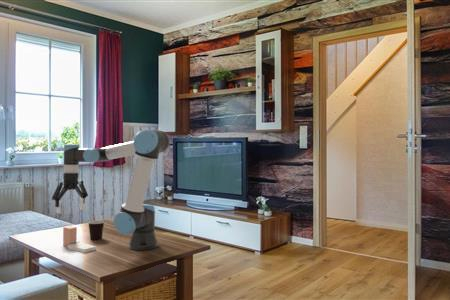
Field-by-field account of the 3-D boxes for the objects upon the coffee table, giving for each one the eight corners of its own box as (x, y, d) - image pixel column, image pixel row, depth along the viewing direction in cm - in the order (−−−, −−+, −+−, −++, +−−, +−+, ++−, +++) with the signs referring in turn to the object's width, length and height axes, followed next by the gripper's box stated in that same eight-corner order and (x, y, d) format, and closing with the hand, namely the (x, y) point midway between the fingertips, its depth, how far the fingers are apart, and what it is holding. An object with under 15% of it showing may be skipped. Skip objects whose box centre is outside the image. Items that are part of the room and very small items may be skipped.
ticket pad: (95, 250, 194) (95, 246, 194) (84, 253, 188) (84, 249, 188) (79, 245, 202) (79, 241, 202) (67, 248, 196) (67, 244, 196)
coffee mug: (98, 241, 211) (99, 224, 210) (85, 240, 212) (85, 223, 212) (109, 236, 222) (109, 220, 222) (96, 235, 224) (96, 219, 224)
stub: (76, 245, 201) (76, 227, 200) (69, 247, 197) (69, 228, 197) (69, 243, 204) (69, 225, 204) (63, 245, 201) (63, 227, 200)
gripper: (86, 170, 213) (86, 207, 213) (45, 173, 192) (44, 213, 192) (94, 171, 208) (94, 209, 209) (53, 174, 188) (52, 215, 188)
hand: (70, 211), depth 201 cm, fingers open, 13 cm apart
